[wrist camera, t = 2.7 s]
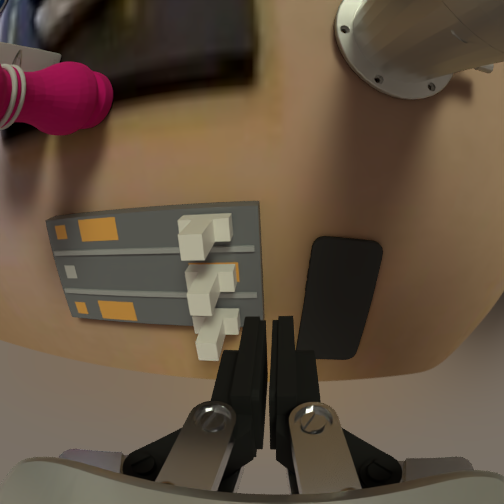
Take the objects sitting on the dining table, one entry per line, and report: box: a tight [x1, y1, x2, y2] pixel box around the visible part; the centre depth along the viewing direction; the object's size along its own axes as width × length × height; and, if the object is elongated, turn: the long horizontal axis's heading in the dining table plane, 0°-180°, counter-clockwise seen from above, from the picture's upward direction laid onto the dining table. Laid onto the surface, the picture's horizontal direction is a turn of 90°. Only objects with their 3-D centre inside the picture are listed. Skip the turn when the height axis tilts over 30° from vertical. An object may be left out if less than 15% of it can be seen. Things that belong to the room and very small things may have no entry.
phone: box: [296, 236, 383, 360], centre depth 32 cm, size 7×1×15 cm
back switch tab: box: [192, 308, 241, 361], centre depth 28 cm, size 4×2×6 cm, turn 93°
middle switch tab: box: [185, 264, 237, 316], centre depth 26 cm, size 4×2×6 cm, turn 93°
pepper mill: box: [0, 62, 113, 135], centre depth 17 cm, size 7×7×20 cm
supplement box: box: [0, 42, 61, 72], centre depth 19 cm, size 7×7×13 cm
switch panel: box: [46, 201, 264, 327], centre depth 31 cm, size 24×13×2 cm, turn 93°
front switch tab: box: [178, 213, 233, 261], centre depth 25 cm, size 4×2×6 cm, turn 93°
